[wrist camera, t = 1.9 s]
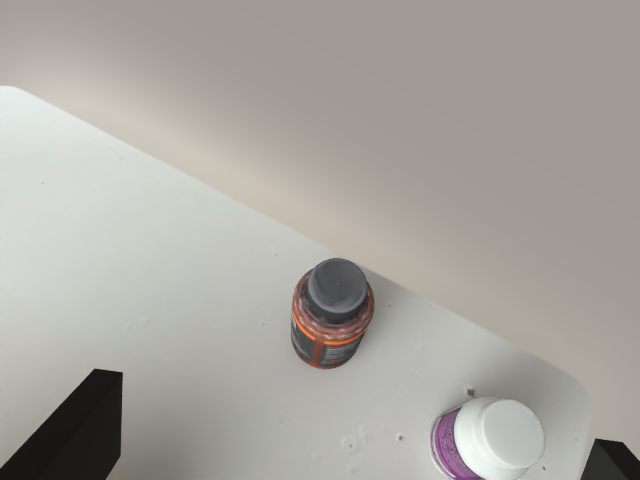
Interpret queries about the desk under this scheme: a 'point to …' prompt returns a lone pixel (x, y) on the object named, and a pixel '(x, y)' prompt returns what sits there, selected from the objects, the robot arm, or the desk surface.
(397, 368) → the desk surface
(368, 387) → the desk surface
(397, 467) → the desk surface
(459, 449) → the pill bottle
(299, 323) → the supplement bottle
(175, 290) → the desk surface
